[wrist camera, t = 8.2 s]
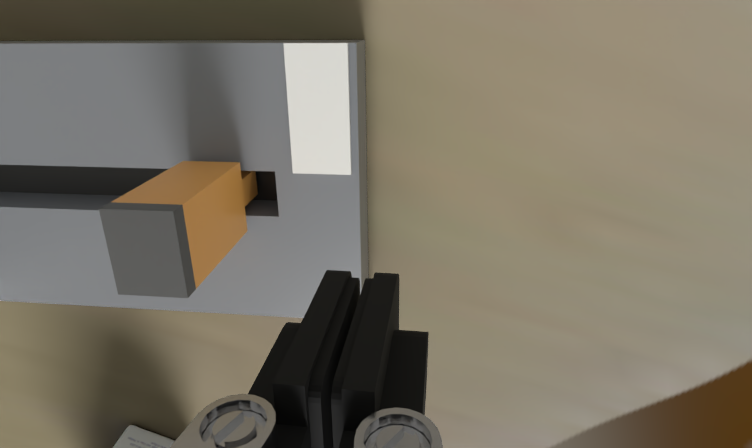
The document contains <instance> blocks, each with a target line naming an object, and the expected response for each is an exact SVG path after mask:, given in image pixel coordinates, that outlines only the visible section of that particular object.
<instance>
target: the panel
mask: <svg viewBox="0 0 752 448" xmlns="http://www.w3.org/2000/svg"><path fill="white" fill-rule="evenodd" d="M182 161H208V162H240V168H241V171H256V181H257V191H258V194H257V195H256V196H255V197H254V198H253V199H252V200H251V201H250V202H249V203H248V204H247V205H246V206H245V213H246V222H247V232H246V233H245V234H244V235H243V237H242V238H241V239H240V240H239V241H238V242H237V243H236V244H235V246H234V247H233V248H232V249H231V250H230V251H229V252H228V254H227V255H226V256H225V257H224V258H223V259H222V260H221V261H220V263H219V264H218V265H217V266H216V267H215V268H214V269H213V270H212V272H211V273H210V274H209V275H208V276H207V277H206V278H205V279H204V281H203V282H202V283H201V284H200V285H199V286H198V287H197V289H196V290H195V291H194V292H193V293H192V294H191V295H190V296H189V298H174V297H155V296H137V295H118V292H117V287H116V283H115V279H114V274H113V270H112V265H111V261H110V257H109V252H108V248H107V243H106V239H105V235H104V230H103V226H102V221H101V217H100V213H99V208H101V207H103V206H105V205H106V204H108V203H110V202H112V201H113V200H115V199H117V198H119V197H120V196H122V195H124V194H126V193H127V192H129V191H131V190H133V189H135V188H136V187H138V186H140V185H142V184H143V183H145V182H147V181H149V180H150V179H152V178H154V177H156V176H157V175H159V174H161V173H163V172H164V171H166V170H168V169H170V168H171V167H173V166H175V165H177V164H178V163H180V162H182ZM327 270H337V271H351V275H352V277H353V278H359V280H360V294H361V291H362V288H363V284H364V281H365V279H366V278H368V210H367V142H366V74H365V40H166V41H0V301H14V302H31V303H49V304H67V305H84V306H102V307H120V308H137V309H155V310H173V311H191V312H208V313H226V314H244V315H261V316H279V317H297V318H304V316H305V314H306V312H307V310H308V308H309V305H310V303H311V301H312V299H313V297H314V295H315V293H316V291H317V289H318V287H319V285H320V282H321V280H322V278H323V276H324V274H325V272H326V271H327Z"/></svg>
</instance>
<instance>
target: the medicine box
mask: <svg viewBox="0 0 752 448" xmlns="http://www.w3.org/2000/svg"><path fill="white" fill-rule="evenodd" d="M174 442H175V440H172V439H170V438H167V437H164V436H161V435H159V434H156V433H153V432H150V431H147V430H144V429H142V428H139V427H137V426H135V425H129V426H128V427H127V428H126V430H125V431H124V432H123V434H122V435H121V436H120V438H119V439H118V441H117V442H116V444H115V445H114V446H113V448H170V447H171V445H172V444H173V443H174Z"/></svg>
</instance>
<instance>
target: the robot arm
mask: <svg viewBox="0 0 752 448" xmlns="http://www.w3.org/2000/svg"><path fill="white" fill-rule="evenodd" d="M427 357H428V332H419V331H405V330H399V274H391V273H375V274H374V277H373V279H371V278H366V279H365V281H364V284H363V288H362V291H361V294H360V280H359V278H353V277H352V275H351V271H337V270H327V271H326V272H325V274H324V276H323V278H322V280H321V282H320V285H319V287H318V289H317V291H316V293H315V295H314V297H313V299H312V301H311V303H310V305H309V308H308V310H307V312H306V314H305V316H304V318H303V320H302V322H301V323H291V322H288V323H286V324H285V325H284V327H283V329H282V330H281V332H280V334H279V336H278V338H277V340H276V342H275V344H274V346H273V348H272V349H271V351H270V353H269V355H268V357H267V359H266V361H265V363H264V365H263V366H262V368H261V370H260V372H259V374H258V376H257V378H256V380H255V382H254V384H253V385H252V387H251V389H250V391H249V393H248V394H238V395H230V396H227V397H224V398H221V399H218V400H216V401H215V402H213V403H211V404H209V405H208V406H206V407H205V408H204V409H203V410H202V411H201V412H200V413H198V414H197V416H196V417H195V418H194V419H193V420H192V422H191V423H190V424H189V425H188V426H187V427H186V429H185V430H184V431H183V432H182V433H181V435H180V436H179V437H178V438H177V439H176V441H175V442H174V443H173V444H172V445H171V447H170V448H443V445H442V439H441V436H440V433H439V431H438V428H437V427H436V426H435V424H434V423H433V422H432V421H431V420H430V419H429V418H427V417H426V416H424V415H425V399H426V380H427Z"/></svg>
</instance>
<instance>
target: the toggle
mask: <svg viewBox="0 0 752 448" xmlns="http://www.w3.org/2000/svg"><path fill="white" fill-rule="evenodd" d="M257 194H258V191H257V181H256V171H241V168H240V162H208V161H182V162H180V163H178V164H177V165H175V166H173V167H171V168H170V169H168V170H166V171H164V172H163V173H161V174H159V175H157V176H156V177H154V178H152V179H150V180H149V181H147V182H145V183H143V184H142V185H140V186H138V187H136V188H135V189H133V190H131V191H129V192H127V193H126V194H124V195H122V196H120V197H119V198H117V199H115V200H113V201H112V202H110V203H108V204H106V205H105V206H103V207H101V208H99V213H100V217H101V221H102V226H103V230H104V235H105V239H106V243H107V248H108V252H109V257H110V261H111V265H112V270H113V274H114V279H115V283H116V287H117V292H118V295H137V296H155V297H174V298H189V296H190V295H191V294H192V293H193V292H194V291H195V290H196V289H197V287H198V286H199V285H200V284H201V283H202V282H203V281H204V279H205V278H206V277H207V276H208V275H209V274H210V273H211V272H212V270H213V269H214V268H215V267H216V266H217V265H218V264H219V263H220V261H221V260H222V259H223V258H224V257H225V256H226V255H227V254H228V252H229V251H230V250H231V249H232V248H233V247H234V246H235V244H236V243H237V242H238V241H239V240H240V239H241V238H242V237H243V235H244V234H245V233H246V232H247V222H246V213H245V206H246V205H247V204H248V203H249V202H250V201H251V200H252V199H253V198H254V197H255V196H256V195H257Z"/></svg>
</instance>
